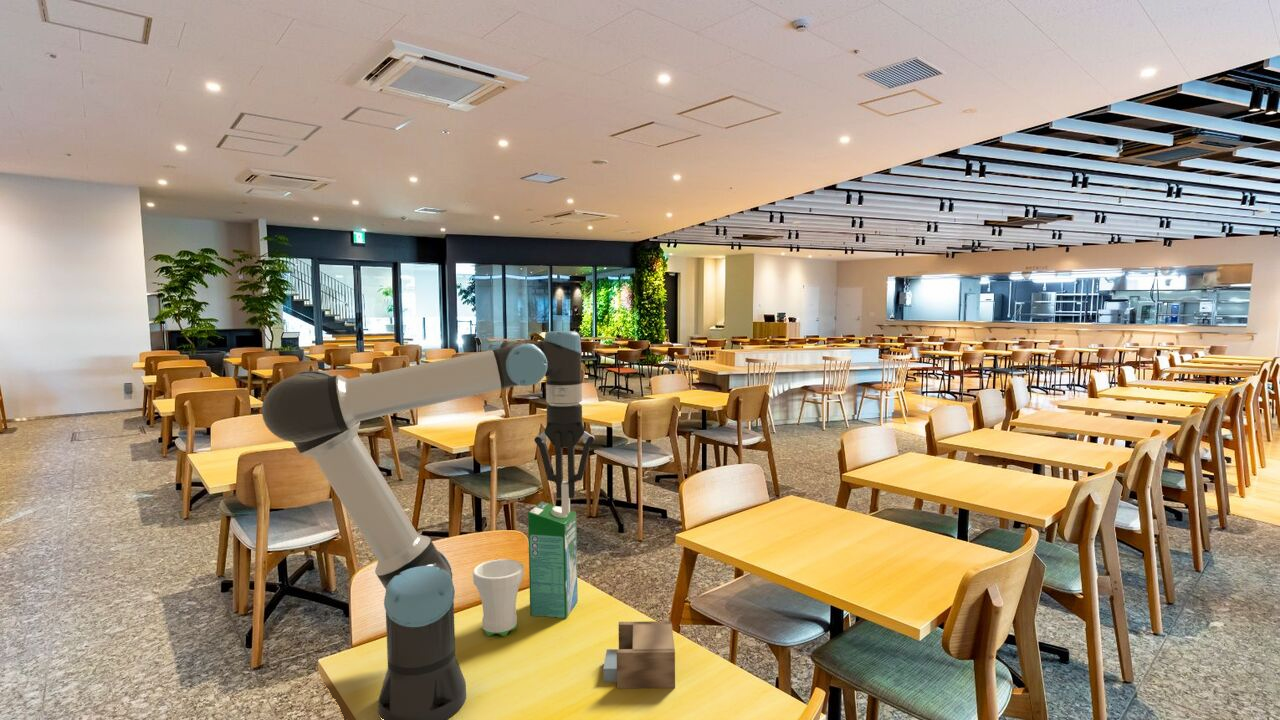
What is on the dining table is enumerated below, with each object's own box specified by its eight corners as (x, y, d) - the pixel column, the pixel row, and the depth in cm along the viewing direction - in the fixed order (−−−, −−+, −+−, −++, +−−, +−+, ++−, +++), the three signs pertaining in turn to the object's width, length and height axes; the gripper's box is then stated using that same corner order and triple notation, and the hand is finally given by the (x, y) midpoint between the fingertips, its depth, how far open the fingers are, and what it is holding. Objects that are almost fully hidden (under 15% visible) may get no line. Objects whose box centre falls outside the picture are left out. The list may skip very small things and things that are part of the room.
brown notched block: (617, 688, 118) (616, 652, 117) (619, 654, 130) (618, 621, 129) (675, 687, 118) (674, 652, 118) (671, 653, 130) (671, 621, 130)
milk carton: (566, 618, 146) (564, 514, 144) (529, 615, 147) (527, 511, 146) (577, 601, 154) (576, 502, 153) (543, 598, 156) (541, 500, 155)
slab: (603, 683, 120) (603, 668, 120) (606, 663, 127) (606, 649, 127) (660, 684, 120) (660, 669, 120) (660, 664, 127) (660, 649, 127)
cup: (535, 625, 143) (534, 564, 142) (501, 647, 133) (499, 582, 132) (498, 613, 148) (497, 555, 148) (463, 633, 139) (461, 571, 138)
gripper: (530, 406, 129) (532, 518, 130) (593, 405, 129) (595, 517, 130) (536, 401, 136) (538, 507, 138) (596, 401, 136) (597, 506, 138)
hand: (566, 512), depth 134 cm, fingers closed
